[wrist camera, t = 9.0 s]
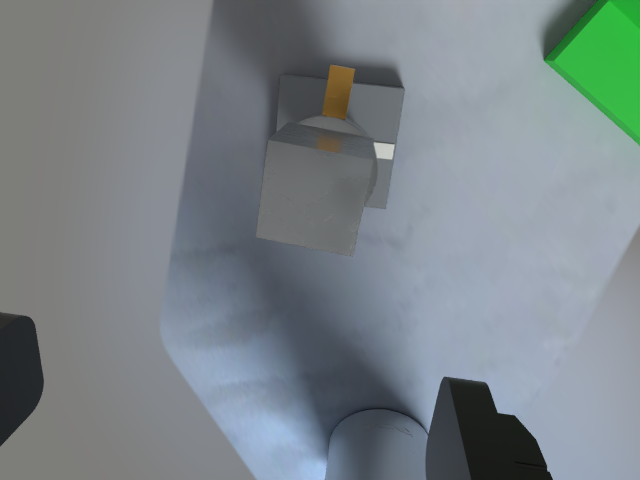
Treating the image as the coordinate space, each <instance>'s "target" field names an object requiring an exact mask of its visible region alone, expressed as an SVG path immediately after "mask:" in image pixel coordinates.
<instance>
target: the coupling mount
mask: <svg viewBox="0 0 640 480" xmlns="http://www.w3.org/2000/svg"><path fill="white" fill-rule="evenodd" d="M327 82H328V79H324V78H315V77H306V76H298V75H289V74H282V75H280V79H279V95H278V111H277V128H276V132H277V131H278V130H280V129H281V128H282V127H283V126H284V125H285V124H287V123H288V122H292V123H297V122H298V121H300V120H302V119H303V118H306V117H308V116H311V115H314V114H320V113H322V112H323V106H324V100H325V94H326V88H327ZM404 92H405V89H404V87H396V86H387V85H378V84H369V83H360V82H353V84H352V89H351V95H350V100H349V106H348V111H347V116H346V117H347V118H349V119H351V120H353V121H354V122H356V123H357V124H358V125H360V126H361V127H362V128H363V129H364V130H365V131H366V133H367V134H368V135H369V137H371V138H374V147H375V150H376V154H377V164H378V173H377V182H376V185H375V189H374V191H373V193H372V195H371V197H370V198H369V200H368V201H367V203H366V204H365V205H364V206H365V207H373V208H381V209H386V204H387V198H388V192H389V185H390V179H391V173H392V167H393V160H394V154H395V148H396V142H397V135H398V129H399V123H400V117H401V110H402V104H403V98H404Z"/></svg>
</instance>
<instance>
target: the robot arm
mask: <svg viewBox="0 0 640 480" xmlns="http://www.w3.org/2000/svg"><path fill="white" fill-rule="evenodd" d="M43 384H44V379H43V372H42V366H41V359H40V353H39V347H38V340H37V334H36V328H35V324H34V322H33V320H32V319H31V318H30V317H27V316H22V315H15V314H8V313H1V312H0V446H1V445H2V444H3V443H4V442H5V441H6V440H7V439H8V438H9V437H10V436H11V434H12V433H13V432H14V431H15V430H16V429H17V428H18V427H19V426H20V425H21V424H22V423H23V422H24V421H25V420H26V419H27V417H28V416H29V415H30V414H31V413H32V412H33V410H34V409H35V408H36V406H37V404H38V402H39V400H40V398H41V395H42V391H43ZM325 480H553V479H552V477H551V474H550V472H547V465H546V462H545V460H544V458H543V455H542V453H541V450H540V448H539V445H538V443H537V441H536V439H535V438H534V437H533V436H532V434H531V433H530V432H529V431H528V430H527V429H526V428H525V427H524V425H523V424H522V423H521V422H520V421H519V420H518V419H517V418H516V416H514V415H507V414H500V413H497V410H496V407H495V404H494V401H493V398H492V395H491V392H490V390H489V387H488V385H487V384H486V383H485V382H479V381H472V380H465V379H458V378H451V377H444V378H443V379H442V381H441V384H440V388H439V392H438V396H437V401H436V405H435V409H434V413H433V418H432V422H431V426H430V430H429V435H427V433H426V431H425V430H424V429H423V428H422V427H421V426H420V425H419V424H418V423H417V422H416V421H414V420H413V419H411V418H410V417H408V416H405V415H403V414H401V413H398V412H394V411H390V410H381V409H373V410H365V411H361V412H357V413H354V414H352V415H350V416H348V417H346V418H345V419H344V420H343V421H341V422H340V423H339V424H338V425H337V426H336V428H335V429H334V430H333V433H332V435H331V437H330V443H329V451H328V460H327V468H326V475H325Z"/></svg>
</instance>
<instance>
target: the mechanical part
mask: <svg viewBox="0 0 640 480" xmlns="http://www.w3.org/2000/svg"><path fill="white" fill-rule="evenodd" d="M544 61H545V62H546V63H547V64H548V65H549V66H550V67H552V68H553V69H554V70H555V71H556V72H557V73H558V74H560V75H561V76H562V77H563V78H564V79H565V80H566V81H567V82H569V83H570V84H571V85H572V86H573V87H574V88H575V89H577V90H578V91H579V92H580V93H581V94H582V95H583V96H584V97H586V98H587V99H588V100H589V101H590V102H591V103H592V104H593V105H595V106H596V107H597V108H598V109H599V110H600V111H601V112H603V113H604V114H605V115H606V116H607V117H608V118H609V119H610V120H612V121H613V122H614V123H615V124H616V125H617V126H618V127H620V128H621V129H622V130H623V131H624V132H625V133H626V134H627V135H629V136H630V137H631V138H632V139H633V140H634V141H635V142H636V143H638V144H639V145H640V0H597V1H596V2H595V4H594V5H593V6H592V7H591V8H590V9H589V10H588V11H587V12H586V14H585V15H584V16H583V17H582V18H581V19H580V20H579V21H578V22H577V24H576V25H575V26H574V27H573V28H572V29H571V30H570V31H569V33H568V34H567V35H566V36H565V37H564V38H563V39H562V40H561V41H560V43H559V44H558V45H557V46H556V47H555V48H554V49H553V50H552V51H551V53H550V54H549V55H548V56H547V57H546V58H545V59H544Z"/></svg>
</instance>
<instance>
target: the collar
mask: <svg viewBox="0 0 640 480" xmlns="http://www.w3.org/2000/svg"><path fill="white" fill-rule="evenodd" d="M354 73H355V69H353V68H348V67H343V66H337V65H330V70H329V76H328V82H327V88H326V94H325V100H324V106H323V112H322V113H320V114H314V115H311V116H308V117H306V118H303V119H302V120H300V121H298V122H297V123H292V122H288V123H287V124H285V125H284V126H283V127H282V128H281V129H280V130H278V131H277V132H276V133H275V134H274V135H273V136H272V137H270V138H269V139H268V142H267V150H266V158H265V167H264V175H263V183H262V191H261V199H260V207H259V215H258V223H257V231H256V237H257V238H262V239H267V240H272V241H277V242H282V243H287V244H292V245H297V246H302V247H307V248H312V249H317V250H322V251H327V252H332V253H337V254H342V255H347V256H352V257H353V253H354V248H355V244H356V239H357V234H358V230H359V225H360V221H361V216H362V211H363V207H364V205H365V204H366V203H367V201H368V200H369V198H370V197H371V195H372V193H373V191H374V189H375V185H376V182H377V173H378V164H377V154H376V150H375V147H374V138H371V137H369V135H368V134H367V133H366V131H365V130H364V129H363V128H362V127H361V126H360V125H358V124H357V123H356V122H354V121H353V120H351V119H349V118H347V117H346V116H347V111H348V106H349V100H350V95H351V89H352V84H353V79H354Z"/></svg>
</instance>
